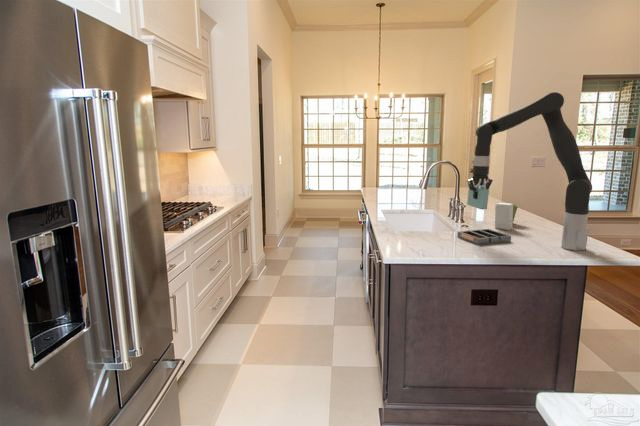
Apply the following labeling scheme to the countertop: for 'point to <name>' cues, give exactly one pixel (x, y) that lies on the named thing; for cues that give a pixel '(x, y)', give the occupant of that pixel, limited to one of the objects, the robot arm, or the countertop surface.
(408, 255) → the countertop surface
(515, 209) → the plant pot
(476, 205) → the panel
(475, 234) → the rack
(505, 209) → the skincare box
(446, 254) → the countertop surface
